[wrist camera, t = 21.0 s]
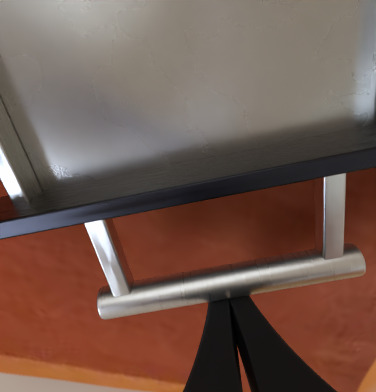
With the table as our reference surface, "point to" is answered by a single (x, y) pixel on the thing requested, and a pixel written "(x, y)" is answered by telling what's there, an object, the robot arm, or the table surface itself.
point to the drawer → (184, 126)
